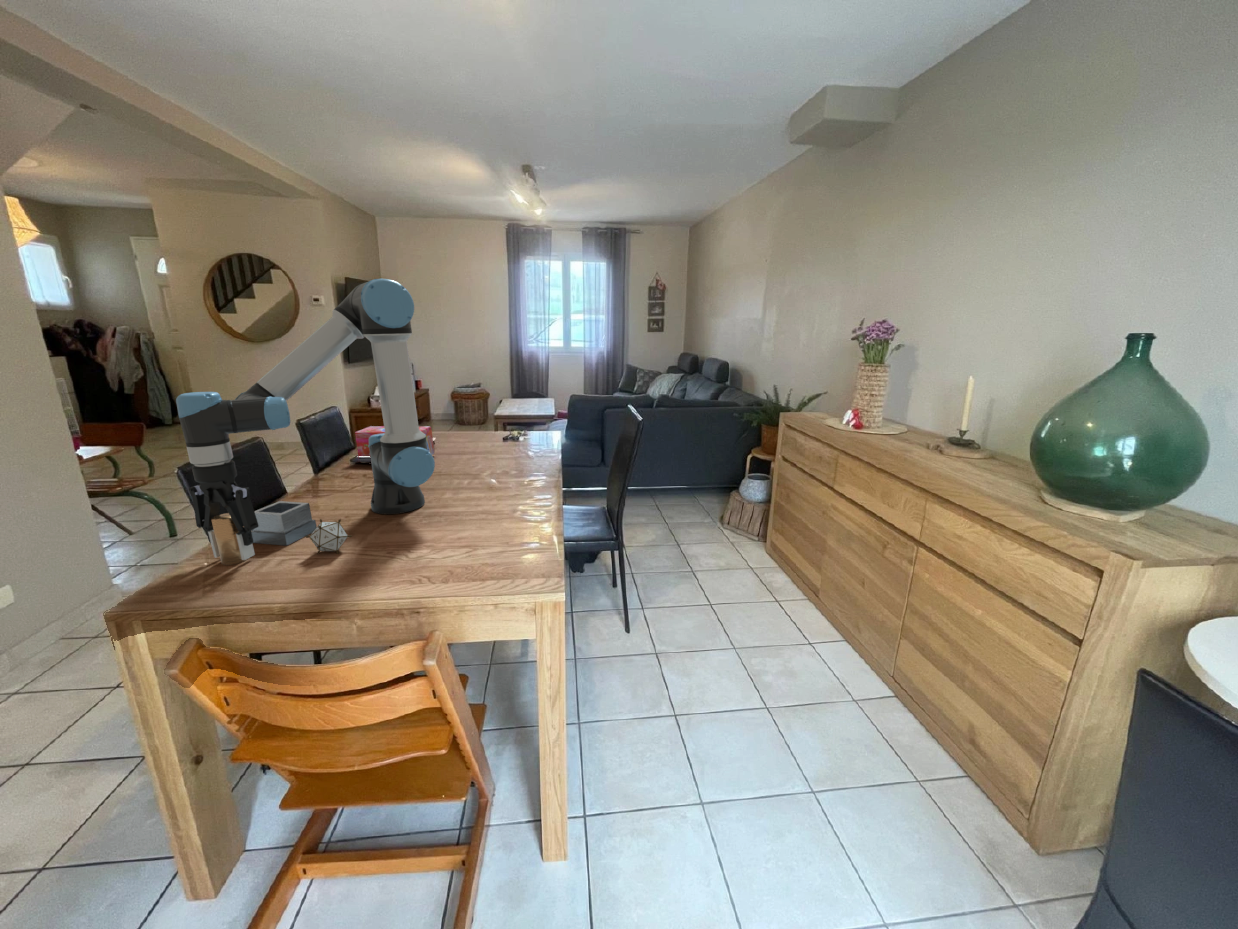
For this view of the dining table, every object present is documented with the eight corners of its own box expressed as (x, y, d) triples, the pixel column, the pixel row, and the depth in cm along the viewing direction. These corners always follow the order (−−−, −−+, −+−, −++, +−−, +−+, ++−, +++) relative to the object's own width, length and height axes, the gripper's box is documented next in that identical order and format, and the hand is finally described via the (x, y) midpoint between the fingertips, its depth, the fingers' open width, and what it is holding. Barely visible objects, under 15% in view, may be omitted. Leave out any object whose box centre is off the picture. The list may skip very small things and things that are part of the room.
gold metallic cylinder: (254, 556, 117) (245, 513, 114) (234, 566, 112) (224, 521, 109) (236, 554, 118) (226, 511, 115) (215, 564, 113) (205, 520, 110)
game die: (332, 568, 118) (311, 549, 110) (313, 549, 122) (291, 529, 114) (364, 542, 123) (345, 522, 115) (344, 525, 126) (325, 504, 118)
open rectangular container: (317, 530, 132) (312, 502, 130) (287, 545, 122) (281, 516, 120) (274, 527, 134) (268, 499, 132) (241, 541, 125) (234, 512, 122)
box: (357, 463, 199) (352, 431, 195) (374, 455, 211) (370, 425, 207) (422, 464, 197) (418, 431, 193) (436, 456, 209) (432, 425, 206)
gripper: (265, 459, 110) (284, 552, 116) (192, 456, 113) (214, 546, 120) (235, 468, 103) (256, 566, 109) (158, 464, 106) (183, 560, 112)
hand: (234, 556), depth 114 cm, fingers open, 7 cm apart
